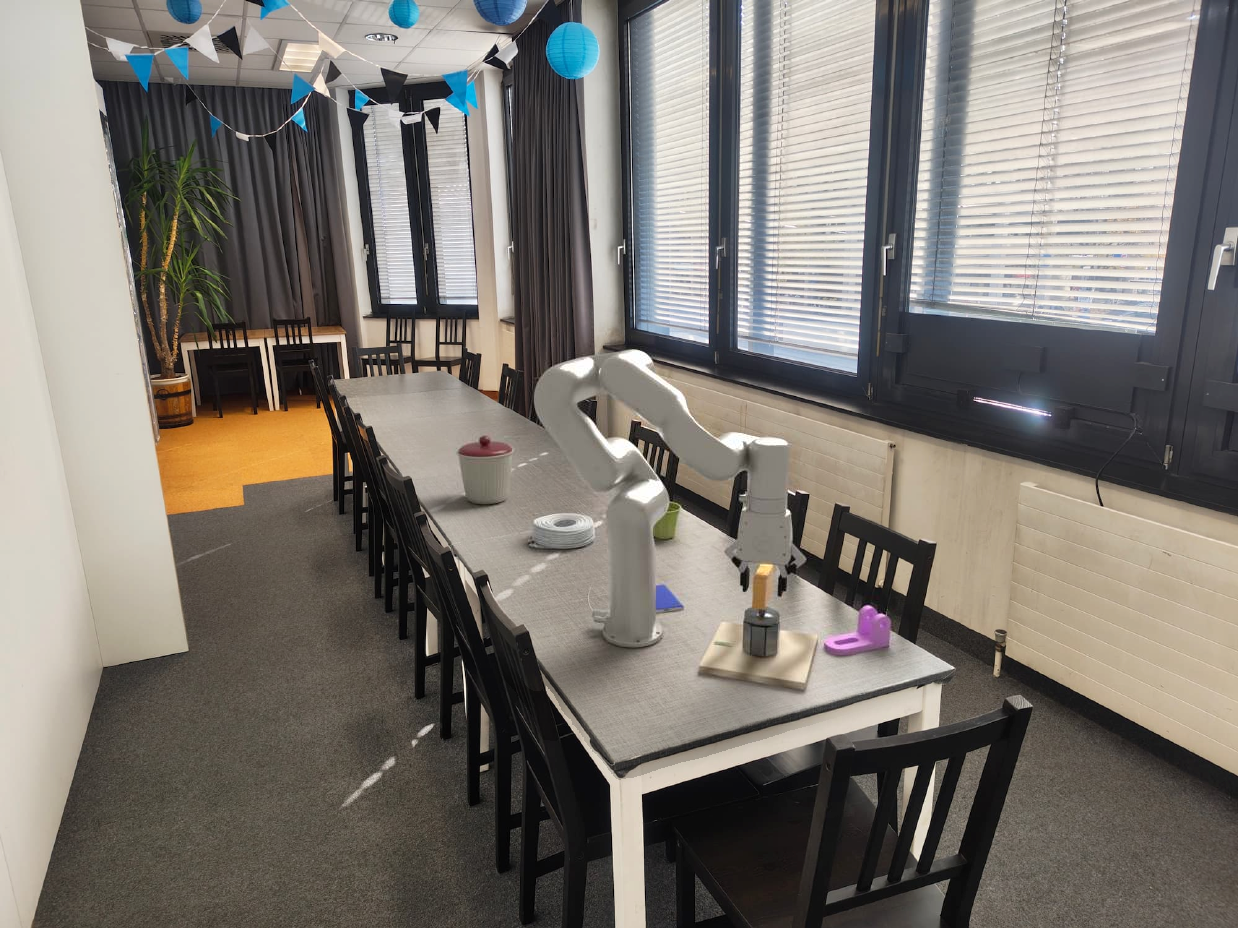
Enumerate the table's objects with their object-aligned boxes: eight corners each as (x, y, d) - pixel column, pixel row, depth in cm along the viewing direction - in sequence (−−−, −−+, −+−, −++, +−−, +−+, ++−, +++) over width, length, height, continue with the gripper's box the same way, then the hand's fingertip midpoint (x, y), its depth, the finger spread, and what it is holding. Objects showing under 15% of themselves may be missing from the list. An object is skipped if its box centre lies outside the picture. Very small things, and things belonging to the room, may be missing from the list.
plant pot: (681, 530, 236) (681, 501, 234) (680, 542, 227) (680, 512, 225) (648, 529, 237) (648, 500, 235) (646, 541, 228) (646, 511, 226)
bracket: (871, 634, 174) (874, 604, 172) (888, 646, 169) (891, 614, 167) (818, 645, 169) (820, 613, 167) (834, 657, 164) (836, 625, 162)
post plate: (698, 672, 158) (699, 634, 156) (721, 627, 177) (722, 593, 175) (804, 690, 152) (807, 650, 150) (817, 642, 170) (819, 606, 168)
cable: (523, 548, 224) (522, 527, 222) (544, 527, 240) (543, 507, 239) (585, 554, 220) (585, 532, 218) (602, 532, 236) (602, 512, 235)
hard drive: (632, 588, 195) (649, 610, 183) (665, 583, 197) (683, 605, 186) (632, 594, 195) (649, 616, 184) (665, 590, 197) (683, 611, 186)
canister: (455, 494, 271) (452, 431, 266) (510, 489, 276) (508, 428, 271) (462, 511, 254) (458, 444, 249) (520, 505, 260) (518, 440, 254)
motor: (738, 655, 161) (741, 577, 157) (749, 632, 170) (752, 558, 166) (774, 660, 159) (777, 581, 154) (782, 637, 168) (786, 562, 164)
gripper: (717, 504, 155) (714, 593, 160) (810, 514, 150) (805, 605, 155) (725, 493, 162) (723, 578, 167) (815, 502, 157) (810, 590, 161)
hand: (763, 590), depth 161 cm, fingers open, 6 cm apart
